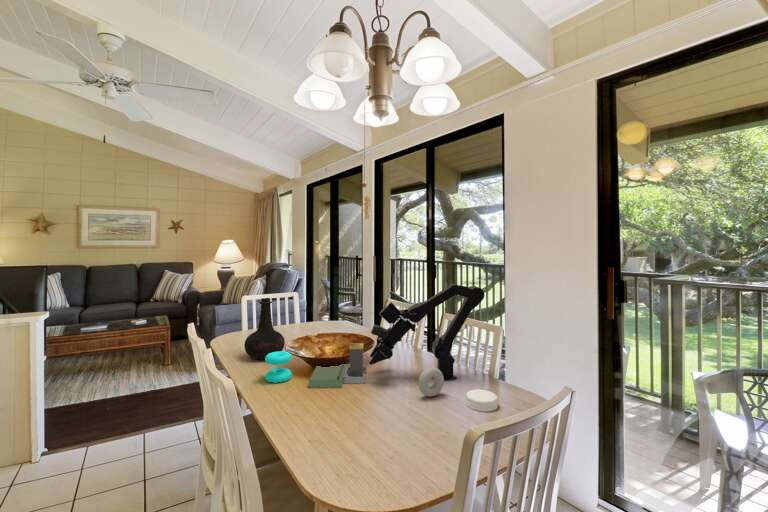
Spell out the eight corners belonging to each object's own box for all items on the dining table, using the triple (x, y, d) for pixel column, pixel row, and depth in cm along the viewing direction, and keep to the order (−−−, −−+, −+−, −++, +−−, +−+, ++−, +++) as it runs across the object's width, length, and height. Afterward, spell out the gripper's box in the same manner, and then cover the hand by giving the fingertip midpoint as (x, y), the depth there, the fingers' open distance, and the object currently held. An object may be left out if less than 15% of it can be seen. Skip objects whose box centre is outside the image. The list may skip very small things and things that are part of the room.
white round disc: (459, 401, 121) (460, 391, 121) (484, 397, 125) (484, 387, 124) (478, 414, 112) (478, 403, 112) (504, 409, 115) (504, 398, 115)
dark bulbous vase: (236, 358, 168) (236, 298, 167) (268, 349, 183) (268, 294, 182) (260, 365, 158) (260, 302, 157) (292, 355, 173) (292, 297, 172)
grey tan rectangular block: (363, 375, 146) (363, 343, 145) (362, 380, 140) (362, 347, 140) (350, 375, 146) (350, 343, 145) (349, 380, 140) (349, 347, 140)
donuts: (292, 356, 138) (264, 358, 135) (292, 382, 139) (265, 385, 136) (290, 349, 148) (264, 351, 145) (290, 373, 148) (265, 376, 145)
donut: (440, 391, 129) (440, 363, 129) (446, 395, 126) (446, 366, 126) (416, 397, 124) (416, 368, 124) (422, 401, 121) (422, 371, 121)
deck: (367, 369, 153) (367, 360, 153) (364, 387, 133) (364, 377, 133) (318, 369, 153) (318, 361, 153) (309, 387, 133) (309, 378, 133)
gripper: (382, 313, 152) (357, 340, 152) (382, 322, 133) (353, 353, 133) (401, 331, 152) (376, 358, 152) (404, 343, 133) (375, 373, 134)
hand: (370, 360), depth 143 cm, fingers open, 9 cm apart
